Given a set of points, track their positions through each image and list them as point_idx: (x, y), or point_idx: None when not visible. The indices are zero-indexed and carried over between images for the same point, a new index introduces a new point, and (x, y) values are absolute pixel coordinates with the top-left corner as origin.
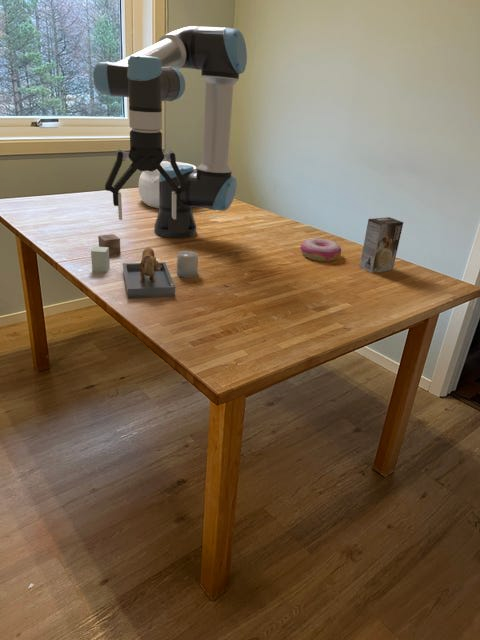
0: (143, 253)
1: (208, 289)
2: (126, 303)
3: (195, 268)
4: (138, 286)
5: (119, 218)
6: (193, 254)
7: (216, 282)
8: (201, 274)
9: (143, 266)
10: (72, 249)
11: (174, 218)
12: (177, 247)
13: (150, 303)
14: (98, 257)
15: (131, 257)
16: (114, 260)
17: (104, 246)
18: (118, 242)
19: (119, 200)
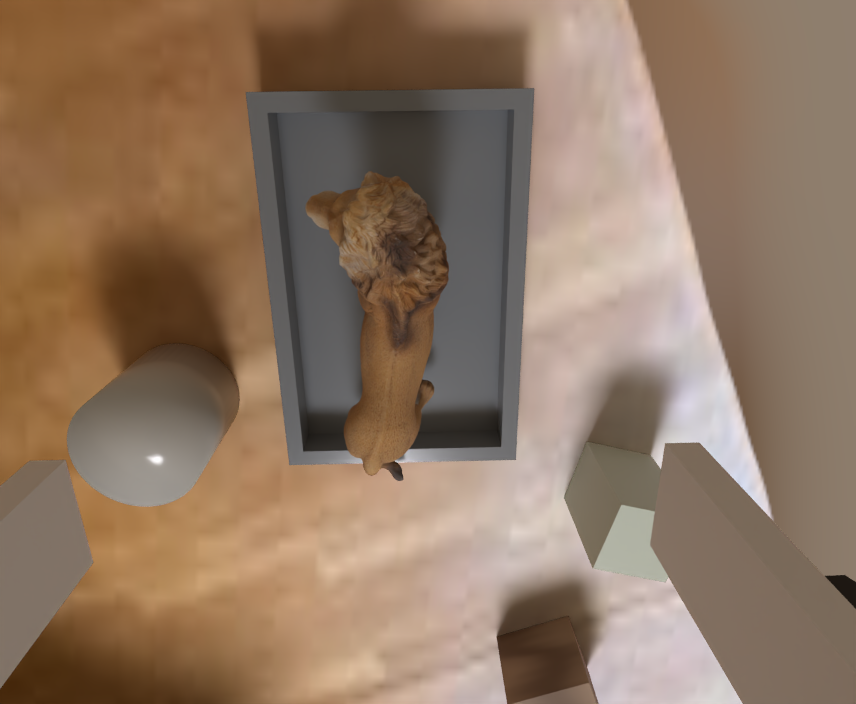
0: (414, 410)
1: (64, 176)
2: (539, 21)
3: (118, 375)
4: (455, 216)
5: (704, 451)
6: (98, 450)
7: (19, 271)
8: (106, 382)
9: (431, 221)
10: (697, 681)
11: (44, 467)
12: (226, 695)
13: (406, 4)
14: (646, 491)
15: (451, 595)
16: (532, 566)
17: (580, 655)
18: (512, 684)
19: (847, 618)
